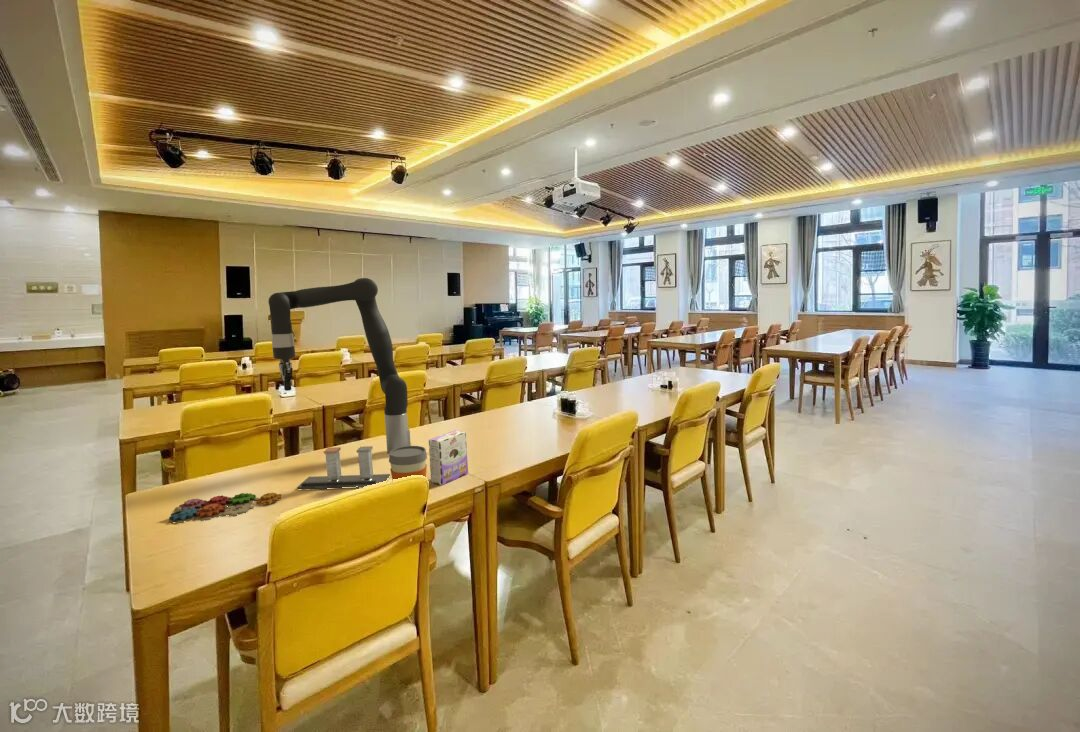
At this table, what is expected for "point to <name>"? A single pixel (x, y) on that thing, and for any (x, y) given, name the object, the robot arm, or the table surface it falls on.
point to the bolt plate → (349, 480)
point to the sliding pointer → (333, 463)
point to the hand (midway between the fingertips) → (287, 390)
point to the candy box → (448, 457)
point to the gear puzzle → (219, 506)
